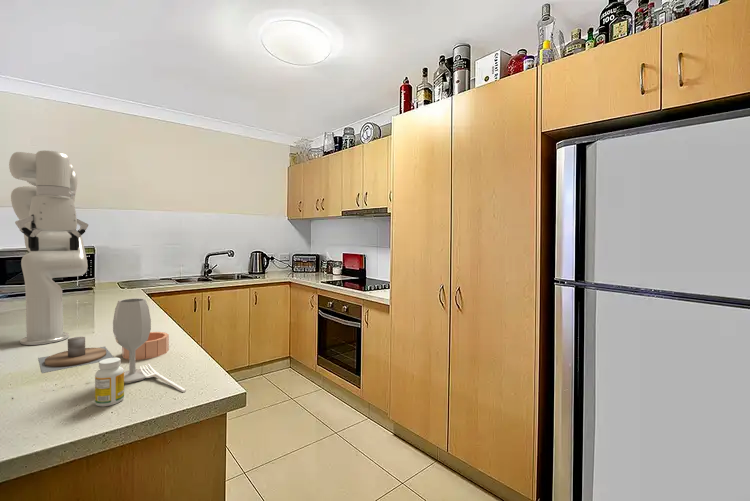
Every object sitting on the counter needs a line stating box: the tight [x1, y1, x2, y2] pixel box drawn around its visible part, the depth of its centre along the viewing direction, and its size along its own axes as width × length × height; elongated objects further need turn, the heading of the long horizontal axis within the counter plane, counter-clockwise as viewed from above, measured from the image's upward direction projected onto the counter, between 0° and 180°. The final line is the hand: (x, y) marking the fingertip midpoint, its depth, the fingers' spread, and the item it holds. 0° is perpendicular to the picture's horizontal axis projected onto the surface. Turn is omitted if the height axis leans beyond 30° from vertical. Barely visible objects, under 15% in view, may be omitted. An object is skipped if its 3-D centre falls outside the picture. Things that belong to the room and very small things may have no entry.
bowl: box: [121, 331, 170, 361], centre depth 112 cm, size 12×12×6 cm
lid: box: [45, 336, 106, 367], centre depth 106 cm, size 14×14×6 cm
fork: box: [139, 363, 187, 393], centre depth 92 cm, size 3×20×2 cm, turn 58°
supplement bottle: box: [94, 357, 125, 407], centre depth 81 cm, size 5×5×10 cm
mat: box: [38, 346, 115, 374], centre depth 106 cm, size 16×16×1 cm
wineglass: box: [112, 297, 152, 385], centre depth 95 cm, size 9×9×21 cm
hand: (55, 250), depth 106 cm, fingers open, 9 cm apart
